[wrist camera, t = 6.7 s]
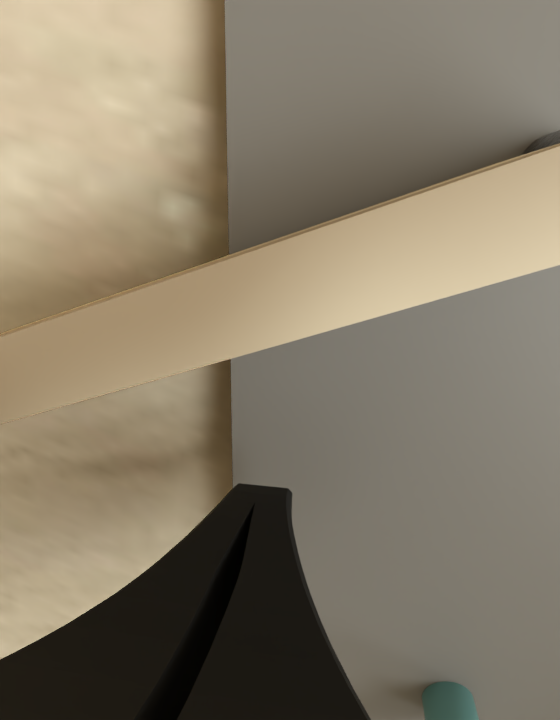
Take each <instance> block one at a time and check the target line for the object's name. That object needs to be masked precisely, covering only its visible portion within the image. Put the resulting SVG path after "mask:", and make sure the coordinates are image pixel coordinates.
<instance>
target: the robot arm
mask: <svg viewBox="0 0 560 720" xmlns="http://www.w3.org/2000/svg"><path fill="white" fill-rule="evenodd" d="M0 720H371V719H370V717H369V715H368V713H367V712H366V710H365V708H364V706H363V705H362V703H361V701H360V699H359V698H358V696H357V694H356V692H355V691H354V689H353V687H352V685H351V683H350V681H349V679H348V677H347V675H346V673H345V671H344V669H343V667H342V665H341V663H340V661H339V659H338V657H337V655H336V653H335V651H334V649H333V647H332V645H331V643H330V641H329V638H328V636H327V634H326V631H325V629H324V627H323V624H322V622H321V620H320V617H319V615H318V612H317V610H316V607H315V604H314V602H313V599H312V596H311V594H310V591H309V588H308V585H307V582H306V578H305V575H304V572H303V569H302V565H301V562H300V558H299V554H298V550H297V545H296V541H295V536H294V531H293V525H292V492H291V491H290V490H289V489H288V488H281V487H271V486H261V485H251V484H241V483H238V484H237V485H236V486H235V487H234V488H233V489H232V490H231V491H230V492H229V493H228V494H227V495H226V496H225V497H224V498H223V500H222V501H221V502H220V503H219V504H218V505H217V506H216V507H215V508H214V509H213V510H212V511H211V512H210V513H209V514H208V515H207V516H206V517H205V518H204V519H203V520H202V521H201V522H200V523H199V524H198V525H197V526H196V527H195V528H194V529H193V530H192V531H191V532H190V533H189V534H188V535H187V536H186V537H185V538H184V539H183V540H182V541H180V542H179V543H178V544H177V545H176V546H175V547H174V548H172V549H171V550H170V551H169V552H168V553H167V554H166V555H164V556H163V557H162V558H161V559H160V560H159V561H157V562H156V563H155V564H154V565H153V566H151V567H150V568H149V569H148V570H146V571H145V572H144V573H142V574H141V575H140V576H139V577H137V578H136V579H135V580H133V581H132V582H131V583H129V584H128V585H126V586H125V587H124V588H122V589H121V590H120V591H118V592H117V593H115V594H114V595H112V596H111V597H109V598H108V599H106V600H105V601H103V602H101V603H100V604H98V605H97V606H95V607H94V608H92V609H90V610H89V611H87V612H86V613H84V614H82V615H81V616H79V617H78V618H76V619H75V620H73V621H71V622H70V623H68V624H66V625H64V626H63V627H61V628H59V629H57V630H56V631H54V632H52V633H50V634H48V635H47V636H45V637H43V638H41V639H39V640H37V641H36V642H34V643H32V644H30V645H28V646H26V647H24V648H22V649H20V650H18V651H17V652H15V653H13V654H11V655H9V656H7V657H5V658H3V659H1V660H0Z"/></svg>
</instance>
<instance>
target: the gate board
mask: <svg viewBox="0 0 560 720" xmlns="http://www.w3.org/2000/svg"><path fill="white" fill-rule="evenodd" d="M225 52H226V112H227V172H228V232H229V255H230V254H233V253H236V252H239V251H242V250H245V249H247V248H250V247H253V246H256V245H259V244H262V243H265V242H268V241H271V240H274V239H277V238H279V237H282V236H285V235H288V234H291V233H294V232H297V231H300V230H303V229H306V228H309V227H311V226H314V225H317V224H320V223H323V222H326V221H329V220H332V219H335V218H338V217H341V216H343V215H346V214H349V213H352V212H355V211H358V210H361V209H364V208H367V207H370V206H373V205H375V204H378V203H381V202H384V201H387V200H390V199H393V198H396V197H399V196H402V195H405V194H407V193H410V192H413V191H416V190H419V189H422V188H425V187H428V186H431V185H434V184H437V183H439V182H442V181H445V180H448V179H451V178H454V177H457V176H460V175H463V174H466V173H469V172H472V171H474V170H477V169H480V168H483V167H486V166H489V165H492V164H495V163H498V162H501V161H504V160H508V159H511V158H514V157H517V156H521V155H522V153H523V152H524V151H525V150H526V148H527V147H528V146H529V145H531V144H532V143H533V142H534V141H536V140H537V139H539V138H541V137H543V136H545V135H548V134H550V133H553V132H556V131H558V130H560V0H225ZM231 412H232V472H233V488H234V487H235V486H236V485H237V484H238V483H241V484H251V485H261V486H271V487H281V488H288V489H289V490H290V491H291V492H292V525H293V531H294V536H295V541H296V545H297V550H298V554H299V558H300V562H301V565H302V569H303V572H304V575H305V578H306V582H307V585H308V588H309V591H310V594H311V596H312V599H313V602H314V604H315V607H316V610H317V612H318V615H319V617H320V620H321V622H322V624H323V627H324V629H325V631H326V634H327V636H328V638H329V641H330V643H331V645H332V647H333V649H334V651H335V653H336V655H337V657H338V659H339V661H340V663H341V665H342V667H343V669H344V671H345V673H346V675H347V677H348V679H349V681H350V683H351V685H352V687H353V689H354V691H355V692H356V694H357V696H358V698H359V699H360V701H361V703H362V705H363V706H364V708H365V710H366V712H367V713H368V715H369V717H370V719H371V720H425V715H424V709H423V703H422V694H423V692H424V690H425V689H426V688H427V687H428V686H430V685H431V684H434V683H437V682H443V681H448V682H455V683H458V684H460V685H462V686H464V687H466V688H467V689H468V690H469V691H470V692H471V694H472V695H473V699H474V702H475V706H476V710H477V714H478V718H479V720H560V265H558V266H554V267H551V268H547V269H544V270H540V271H537V272H533V273H530V274H526V275H523V276H519V277H516V278H512V279H509V280H505V281H502V282H498V283H495V284H491V285H488V286H484V287H481V288H477V289H474V290H470V291H467V292H463V293H460V294H456V295H453V296H449V297H446V298H442V299H439V300H435V301H432V302H428V303H425V304H421V305H418V306H414V307H411V308H407V309H404V310H400V311H397V312H393V313H390V314H386V315H383V316H379V317H376V318H372V319H369V320H365V321H362V322H358V323H355V324H351V325H348V326H344V327H341V328H337V329H334V330H330V331H327V332H323V333H320V334H316V335H313V336H309V337H306V338H302V339H299V340H295V341H292V342H288V343H285V344H281V345H278V346H274V347H271V348H267V349H264V350H260V351H257V352H253V353H249V354H246V355H242V356H239V357H235V358H232V359H231Z"/></svg>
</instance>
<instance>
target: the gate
mask: <svg viewBox="0 0 560 720" xmlns="http://www.w3.org/2000/svg"><path fill="white" fill-rule="evenodd" d="M558 265H560V143H559V144H556V145H553V146H549V147H546V148H543V149H540V150H537V151H533V152H530V153H527V154H524V155H521V156H517V157H514V158H511V159H508V160H504V161H501V162H498V163H495V164H492V165H489V166H486V167H483V168H480V169H477V170H474V171H472V172H469V173H466V174H463V175H460V176H457V177H454V178H451V179H448V180H445V181H442V182H439V183H437V184H434V185H431V186H428V187H425V188H422V189H419V190H416V191H413V192H410V193H407V194H405V195H402V196H399V197H396V198H393V199H390V200H387V201H384V202H381V203H378V204H375V205H373V206H370V207H367V208H364V209H361V210H358V211H355V212H352V213H349V214H346V215H343V216H341V217H338V218H335V219H332V220H329V221H326V222H323V223H320V224H317V225H314V226H311V227H309V228H306V229H303V230H300V231H297V232H294V233H291V234H288V235H285V236H282V237H279V238H277V239H274V240H271V241H268V242H265V243H262V244H259V245H256V246H253V247H250V248H247V249H245V250H242V251H239V252H236V253H233V254H230V255H227V256H224V257H221V258H218V259H215V260H213V261H210V262H207V263H204V264H201V265H198V266H195V267H192V268H189V269H186V270H183V271H181V272H178V273H175V274H172V275H169V276H166V277H163V278H160V279H157V280H154V281H151V282H149V283H146V284H143V285H140V286H137V287H134V288H131V289H128V290H125V291H122V292H119V293H117V294H114V295H111V296H108V297H105V298H102V299H99V300H96V301H93V302H90V303H87V304H85V305H82V306H79V307H76V308H73V309H70V310H67V311H64V312H61V313H58V314H55V315H53V316H50V317H47V318H44V319H41V320H38V321H35V322H32V323H29V324H26V325H23V326H20V327H18V328H15V329H12V330H9V331H6V332H3V333H0V425H1V424H4V423H8V422H11V421H15V420H18V419H22V418H25V417H29V416H32V415H36V414H39V413H43V412H46V411H50V410H53V409H57V408H60V407H64V406H67V405H71V404H74V403H78V402H81V401H85V400H88V399H92V398H95V397H99V396H102V395H106V394H109V393H113V392H116V391H120V390H123V389H127V388H130V387H134V386H137V385H141V384H144V383H148V382H151V381H155V380H158V379H162V378H165V377H169V376H172V375H176V374H179V373H183V372H186V371H190V370H193V369H197V368H200V367H204V366H207V365H211V364H214V363H218V362H221V361H225V360H228V359H232V358H235V357H239V356H242V355H246V354H249V353H253V352H257V351H260V350H264V349H267V348H271V347H274V346H278V345H281V344H285V343H288V342H292V341H295V340H299V339H302V338H306V337H309V336H313V335H316V334H320V333H323V332H327V331H330V330H334V329H337V328H341V327H344V326H348V325H351V324H355V323H358V322H362V321H365V320H369V319H372V318H376V317H379V316H383V315H386V314H390V313H393V312H397V311H400V310H404V309H407V308H411V307H414V306H418V305H421V304H425V303H428V302H432V301H435V300H439V299H442V298H446V297H449V296H453V295H456V294H460V293H463V292H467V291H470V290H474V289H477V288H481V287H484V286H488V285H491V284H495V283H498V282H502V281H505V280H509V279H512V278H516V277H519V276H523V275H526V274H530V273H533V272H537V271H540V270H544V269H547V268H551V267H554V266H558Z"/></svg>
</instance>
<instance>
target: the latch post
mask: <svg viewBox="0 0 560 720" xmlns="http://www.w3.org/2000/svg"><path fill="white" fill-rule="evenodd" d="M422 703H423V709H424V715H425V720H479V718H478V714H477V710H476V706H475V702H474V699H473V695H472V694H471V692H470V691H469V690H468V689H467V688H466V687H464V686H462V685H460V684H458V683H455V682H448V681H443V682H437V683H434V684H431V685H430V686H428V687H427V688H426V689H425V690H424V692H423V694H422Z"/></svg>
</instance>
